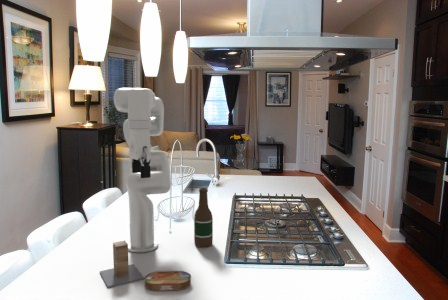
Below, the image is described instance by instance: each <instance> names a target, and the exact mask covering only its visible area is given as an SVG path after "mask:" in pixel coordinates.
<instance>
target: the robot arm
mask: <svg viewBox="0 0 448 300" xmlns="http://www.w3.org/2000/svg"><path fill="white" fill-rule="evenodd" d="M113 103H114V107H115V108H116V109H115V110H117V111H118V112H121V113H126V114H127V119H126V118H125V120H124V121H123V124H122V126H123V127H122V129H123V135H124V140H125V142H126V144H127V146H128V155H129V166H130V167H129V168H130V171H131V172H130V173H128V175H126V179H125V181H126V183H125V184H126V189H127V193H128V195H127V197H128V203H129V205H128V206H129V236H130V237H129V238H130V241H129V242H128V243H127V244H128V252H132V253H136V254H138V253H139V254H141V253H142V254H143V253H148V252H151V251H154V250H156V249H158V247H159V242H158V241H157V240H155V222H154V219H155V218H154V217H155V215H154V203H153V201H152V200H151V199H150V198H149V196H148V195H162V194H168V192H169V191H170V190H171V187H172V182H171V181H172V180H171V179H172V178H171V172H170V163H169V157H168V155H167V154H166V153H165V152H163V151H152V147H151V146H152V145H151V137H157V136H158V137H159V136H160V135H162V134H163V132H164V124H165V123H164V122H165V119H164V117H165V116H164V115H165V107H164V102H163V100H162V99H161V98H160V97H157V96H156V94H155V92H153V90H152V89H150V88H146V87H145V88H144V87H143V88H142V87H120V88H116V90H115V91H114V93H113Z"/></svg>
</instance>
